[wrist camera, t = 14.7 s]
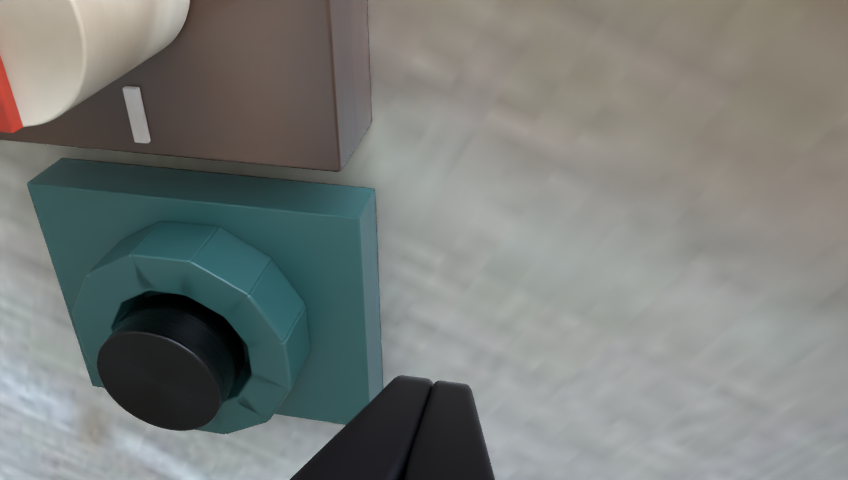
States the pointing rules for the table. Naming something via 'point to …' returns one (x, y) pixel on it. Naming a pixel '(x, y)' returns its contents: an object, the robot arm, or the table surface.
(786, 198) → the table surface
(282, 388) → the button box
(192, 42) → the dial panel
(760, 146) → the table surface
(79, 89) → the dial
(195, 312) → the button
